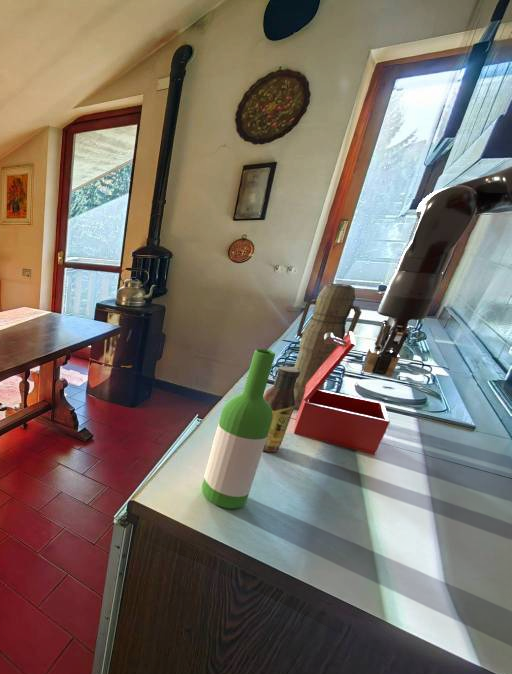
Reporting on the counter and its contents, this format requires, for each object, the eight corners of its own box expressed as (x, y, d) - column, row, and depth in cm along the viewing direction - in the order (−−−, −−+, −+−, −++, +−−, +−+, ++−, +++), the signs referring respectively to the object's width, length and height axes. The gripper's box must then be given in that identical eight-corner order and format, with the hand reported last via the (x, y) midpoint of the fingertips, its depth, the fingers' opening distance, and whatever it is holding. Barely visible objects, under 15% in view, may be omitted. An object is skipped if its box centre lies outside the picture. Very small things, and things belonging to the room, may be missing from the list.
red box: (370, 433, 100) (383, 403, 96) (374, 455, 91) (390, 421, 87) (296, 415, 109) (306, 387, 105) (293, 433, 99) (304, 402, 96)
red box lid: (352, 333, 96) (330, 324, 98) (355, 344, 87) (330, 334, 89) (308, 386, 105) (289, 377, 107) (307, 401, 96) (285, 391, 98)
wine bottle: (231, 485, 79) (273, 344, 68) (254, 511, 72) (305, 359, 61) (193, 484, 79) (229, 344, 68) (212, 511, 72) (256, 359, 60)
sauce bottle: (272, 456, 89) (299, 376, 82) (243, 444, 94) (267, 368, 86) (283, 447, 93) (311, 370, 85) (255, 436, 98) (279, 362, 90)
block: (388, 371, 88) (396, 351, 86) (391, 376, 85) (400, 356, 83) (361, 366, 90) (369, 347, 89) (363, 372, 87) (371, 352, 85)
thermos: (321, 416, 108) (369, 289, 95) (272, 403, 116) (310, 283, 102) (326, 407, 114) (372, 285, 101) (279, 394, 122) (316, 280, 108)
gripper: (443, 301, 73) (404, 384, 80) (427, 291, 84) (394, 365, 91) (389, 296, 78) (357, 375, 84) (381, 287, 88) (353, 358, 95)
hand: (376, 370), depth 87 cm, fingers closed on block, 4 cm apart
